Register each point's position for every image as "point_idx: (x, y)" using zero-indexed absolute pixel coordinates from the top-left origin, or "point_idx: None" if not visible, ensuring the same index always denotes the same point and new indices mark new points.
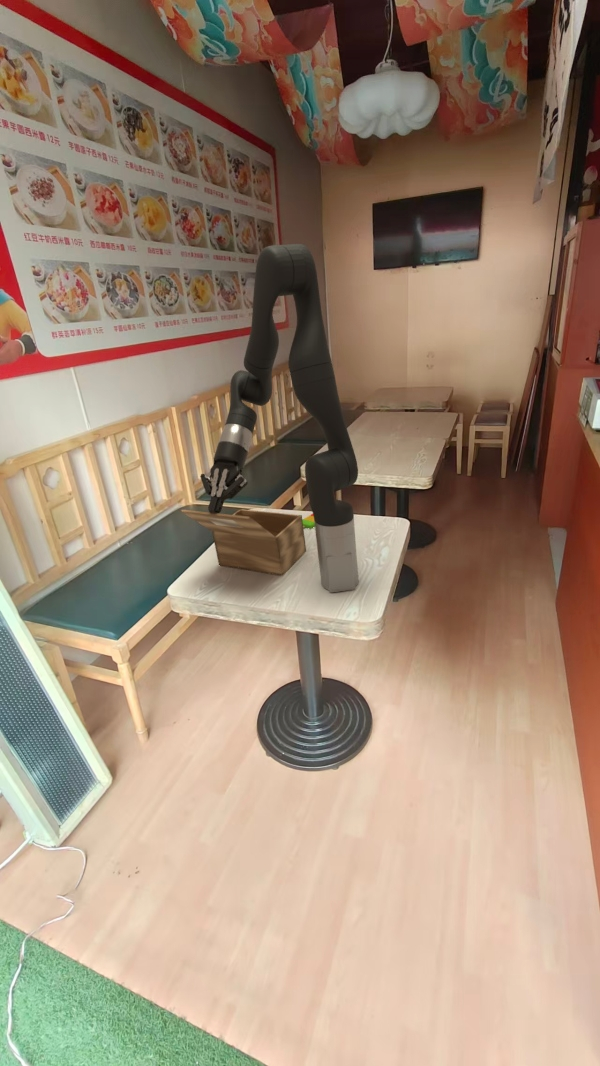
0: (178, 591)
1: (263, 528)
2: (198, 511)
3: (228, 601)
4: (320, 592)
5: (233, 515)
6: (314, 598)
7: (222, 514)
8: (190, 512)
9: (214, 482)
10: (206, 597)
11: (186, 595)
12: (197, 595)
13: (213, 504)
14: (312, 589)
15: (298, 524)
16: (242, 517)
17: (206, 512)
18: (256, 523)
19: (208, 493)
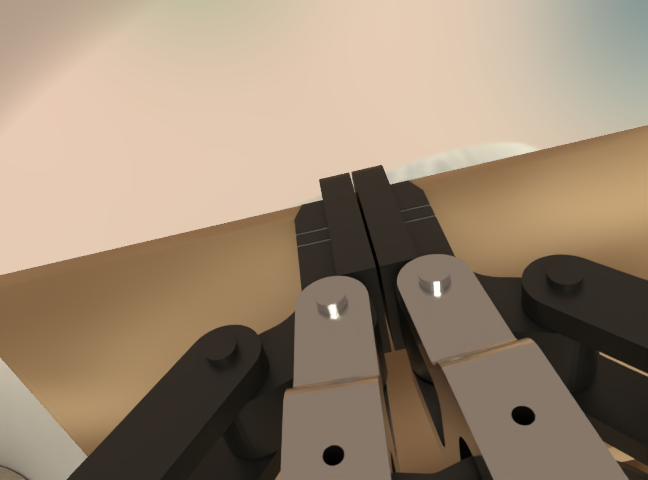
0: (534, 151)
1: (87, 448)
2: (540, 161)
3: (291, 207)
4: (11, 437)
5: (122, 255)
6: (9, 390)
7: (247, 226)
8: (625, 131)
9: (514, 398)
10: (391, 181)
11: (477, 149)
12: (436, 172)
13: (355, 209)
14: (50, 440)
15: None
16: (24, 273)
17: (438, 183)
18: (31, 380)
19: (534, 273)
